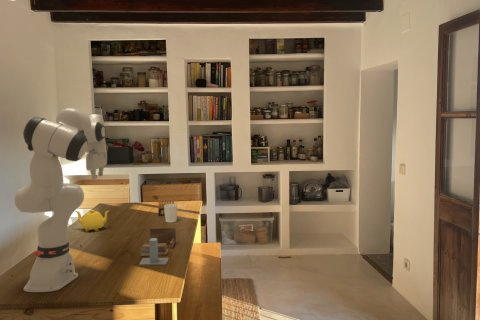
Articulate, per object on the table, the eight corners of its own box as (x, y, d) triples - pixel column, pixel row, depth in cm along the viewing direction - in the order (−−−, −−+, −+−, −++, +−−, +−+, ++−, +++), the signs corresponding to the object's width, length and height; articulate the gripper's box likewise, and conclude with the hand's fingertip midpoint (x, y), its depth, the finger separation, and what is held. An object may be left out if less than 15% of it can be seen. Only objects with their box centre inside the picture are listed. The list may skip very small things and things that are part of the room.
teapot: (114, 225, 263) (113, 206, 262) (107, 232, 248) (106, 212, 247) (81, 226, 263) (80, 207, 261) (72, 232, 248) (70, 213, 246)
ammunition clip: (158, 216, 285) (157, 198, 283) (158, 215, 287) (158, 197, 285) (174, 215, 285) (174, 197, 283) (175, 215, 286) (174, 197, 285)
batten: (156, 262, 195) (155, 240, 194) (150, 262, 195) (149, 240, 194) (158, 259, 199) (157, 238, 198) (151, 259, 199) (150, 238, 198)
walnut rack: (173, 248, 217) (172, 232, 216) (147, 248, 216) (146, 233, 216) (176, 242, 226) (175, 227, 225) (150, 243, 226) (150, 227, 225)
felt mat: (166, 265, 193) (166, 263, 193) (139, 265, 193) (138, 264, 193) (168, 258, 201) (168, 257, 201) (142, 259, 201) (142, 258, 201)
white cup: (178, 219, 275) (177, 203, 274) (176, 222, 267) (176, 206, 266) (165, 219, 274) (165, 204, 273) (163, 222, 267) (163, 206, 266)
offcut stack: (166, 255, 206) (165, 246, 205) (140, 256, 206) (140, 246, 205) (167, 252, 211) (167, 242, 211) (142, 252, 211) (142, 243, 211)
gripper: (95, 150, 195) (97, 180, 196) (108, 146, 215) (110, 174, 217) (81, 150, 195) (83, 181, 196) (96, 146, 215) (97, 174, 217)
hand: (97, 177), depth 207 cm, fingers open, 8 cm apart
